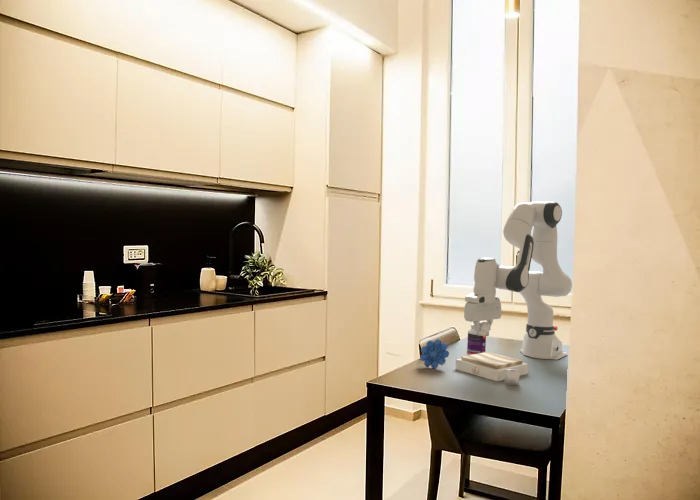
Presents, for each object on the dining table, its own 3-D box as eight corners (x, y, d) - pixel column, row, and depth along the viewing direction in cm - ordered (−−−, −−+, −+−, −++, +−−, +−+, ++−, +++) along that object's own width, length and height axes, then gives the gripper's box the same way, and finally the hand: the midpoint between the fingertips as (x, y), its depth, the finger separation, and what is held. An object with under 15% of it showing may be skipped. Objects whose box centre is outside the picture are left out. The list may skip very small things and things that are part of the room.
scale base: (486, 362, 220) (486, 353, 220) (527, 373, 205) (528, 363, 205) (454, 369, 208) (455, 359, 208) (496, 381, 192) (496, 371, 192)
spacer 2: (510, 381, 193) (510, 368, 193) (521, 384, 189) (522, 371, 189) (502, 383, 190) (502, 369, 190) (513, 386, 186) (514, 373, 186)
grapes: (449, 367, 210) (451, 338, 210) (447, 371, 204) (448, 341, 204) (421, 364, 214) (423, 335, 214) (418, 367, 208) (419, 338, 207)
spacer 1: (481, 333, 213) (481, 321, 213) (491, 335, 209) (492, 323, 209) (473, 334, 210) (474, 322, 210) (483, 336, 206) (484, 324, 206)
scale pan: (487, 354, 218) (487, 351, 218) (522, 363, 205) (522, 360, 205) (461, 359, 208) (461, 356, 208) (496, 369, 194) (496, 366, 194)
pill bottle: (485, 359, 227) (487, 326, 227) (467, 357, 229) (468, 325, 228) (484, 355, 235) (486, 323, 235) (466, 353, 237) (468, 322, 236)
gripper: (493, 295, 218) (491, 327, 219) (462, 297, 206) (460, 331, 206) (506, 297, 213) (504, 330, 214) (475, 299, 201) (473, 334, 201)
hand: (482, 330), depth 210 cm, fingers closed on spacer 1, 5 cm apart
